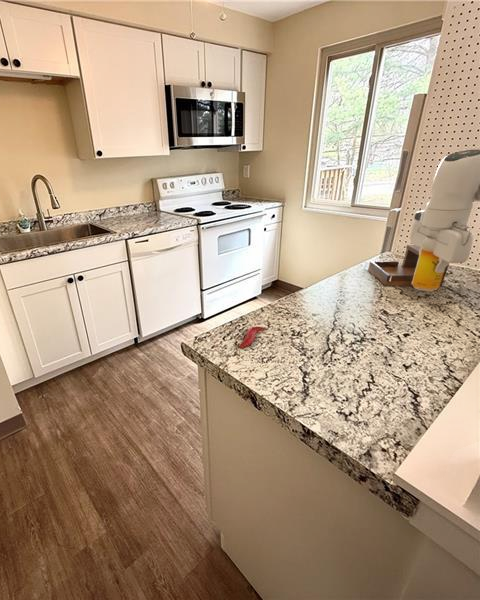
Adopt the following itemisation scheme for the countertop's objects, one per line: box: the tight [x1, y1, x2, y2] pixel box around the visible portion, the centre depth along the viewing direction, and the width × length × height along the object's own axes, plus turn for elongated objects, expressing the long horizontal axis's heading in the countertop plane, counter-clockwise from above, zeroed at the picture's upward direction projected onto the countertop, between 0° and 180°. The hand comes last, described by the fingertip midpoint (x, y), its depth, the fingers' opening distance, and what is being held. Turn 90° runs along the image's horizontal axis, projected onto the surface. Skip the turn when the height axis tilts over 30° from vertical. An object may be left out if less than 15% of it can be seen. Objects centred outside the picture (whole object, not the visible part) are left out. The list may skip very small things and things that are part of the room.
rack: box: [367, 244, 450, 287], centre depth 101 cm, size 15×14×9 cm
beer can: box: [412, 236, 444, 292], centre depth 87 cm, size 6×6×15 cm
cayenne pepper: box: [237, 326, 266, 349], centre depth 79 cm, size 12×5×2 cm, turn 124°
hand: (430, 267), depth 88 cm, fingers closed on beer can, 6 cm apart
